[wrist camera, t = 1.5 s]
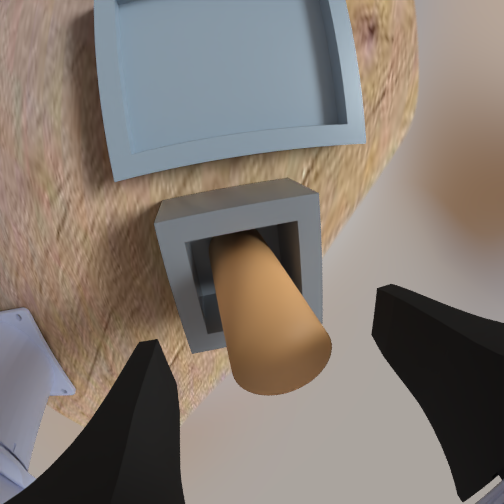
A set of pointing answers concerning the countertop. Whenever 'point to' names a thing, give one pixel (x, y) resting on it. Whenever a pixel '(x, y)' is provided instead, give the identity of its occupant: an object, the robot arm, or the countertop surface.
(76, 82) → the countertop surface
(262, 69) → the tray
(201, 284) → the pin cup
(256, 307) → the orange pin
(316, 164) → the countertop surface
